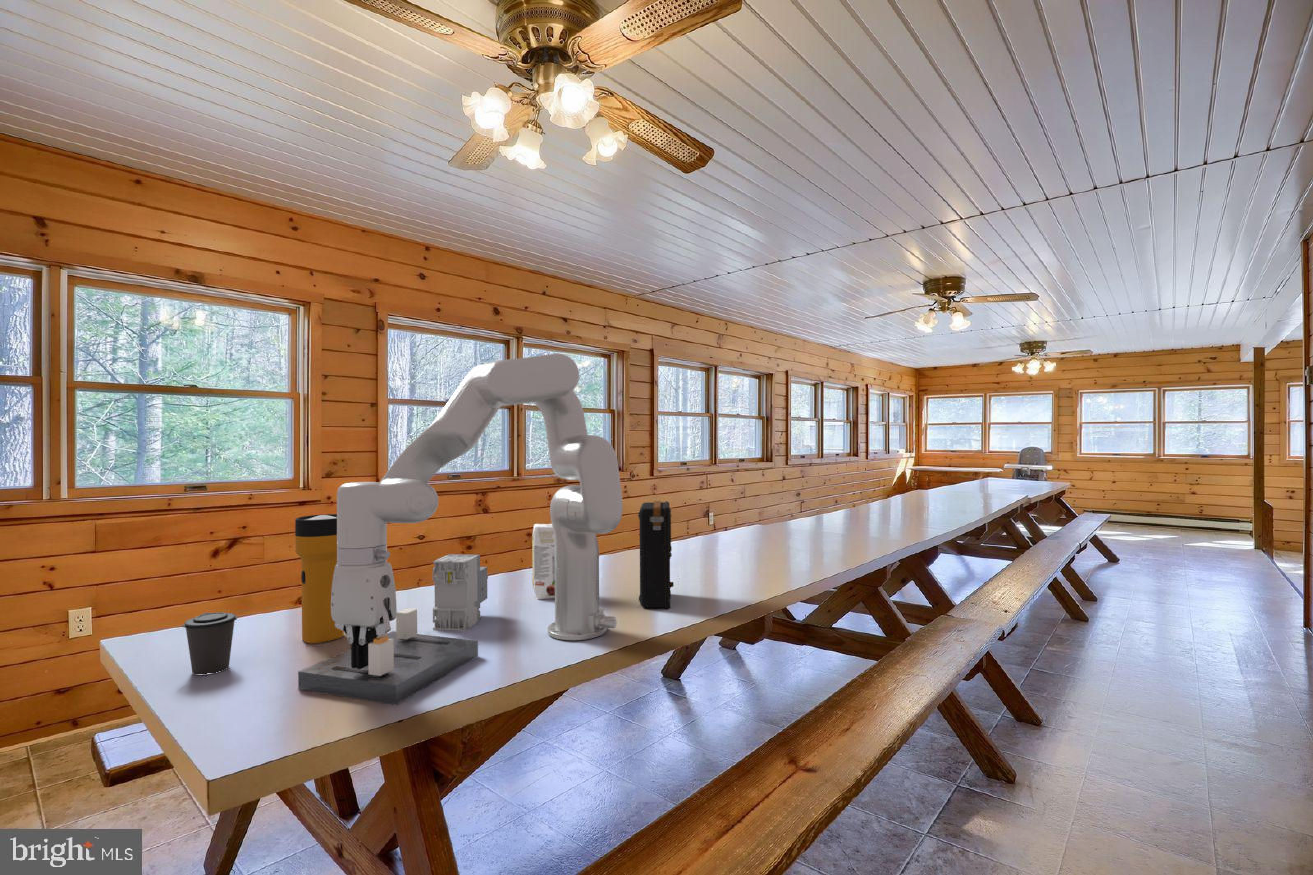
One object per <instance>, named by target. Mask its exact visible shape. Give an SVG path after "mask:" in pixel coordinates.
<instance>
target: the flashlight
mask: <svg viewBox="0 0 1313 875" xmlns="http://www.w3.org/2000/svg"><path fill="white" fill-rule="evenodd" d="M294 524H295V525H294V535H295V536H294V538H295V539H294V540H295V544H294V545H295V548H294V549H295V553H296V555H297V556H298V557H299V558H300V560H301V562H300V564H301V566H300V567H301V573H300V578H301V579H300V581H301V638H302V641H304V642H305V643H307V644H321V643H326V641H327V642H331V641H335V640H338V639H340V638H342V637H343V636H344V634H345V632H344V631H342V630H340V629H338V628H336V627H335V621H333V619H332V616H331V591H332V582H333V575H334V570H335V565H337V513H332V514H331V513H327V514H314V515H313V514H312V515H305V516H300V517H296V518H295V519H294Z"/></svg>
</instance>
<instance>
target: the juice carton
mask: <svg viewBox="0 0 1313 875" xmlns="http://www.w3.org/2000/svg"><path fill="white" fill-rule="evenodd" d="M531 539H532V540H531V542H532V545H531V546H532V548H531V549H532V550H531V551H532V552H531V554H532V556H531V557H532V559H531V561H532V564H531V565H532V568H531V569H532V573H531V574H532V588H533V590H534V594H535V596H536V598H537V600H547V599H555V544H554V533H553V527H552V523H547V524H546V523H535V524H533V529H532V536H531Z"/></svg>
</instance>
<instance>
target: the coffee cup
mask: <svg viewBox="0 0 1313 875" xmlns="http://www.w3.org/2000/svg"><path fill="white" fill-rule="evenodd" d="M237 619H238V616H237V615H236V614H235V613H231V612H223V611H221V612H205V613H202V614H200V615H198V616H195V617H192V618H190V619H187V620H185V621H184V623H183V624H182V627H183V628H184V629H185V631H186V632H185V633H186V637H187V638H186V639H187V644H188V651H189V653H188V654H189V658H190V659H189V660H190V665H191V671H192V674H193V673H194V674H207V673H215V674H217V673H216V672H218V673H220V672H219V671H221V672H223V671H222V670H224V669H226V668H227V669H229V666H230V661H231V652H232V645H233V637H234V627H235V622H236V620H237ZM227 669H226V670H227ZM224 671H225V670H224Z"/></svg>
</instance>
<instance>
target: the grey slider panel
mask: <svg viewBox="0 0 1313 875" xmlns="http://www.w3.org/2000/svg"><path fill="white" fill-rule="evenodd" d="M387 636H388V639H394V669H393V670H391V671H389V672H387V673H385V674H383V675H381V676H377V675H370V674H369V669H368V666H366V667H364V668H362V669H357V668H352V667H351V648H350V649H348V650H345V651H343V652H341V653H339V654H336V655H334V656H331V657H329V658H326V659H324V660H322V661H319V662H318V663H315V664H312V665H310V666H307V667H305V668H303V669H300V670H299V671H298V672H297V674H298V678H297V680H298V681H297V682H298V683H297V684H298V685H297V686H298V687H297V689H298V690H300V689H301V690H300V691H308V692H313V691H315V692H314V693H319V694H327V695H332V696H339V697H344V696H346V697H345V698H351V697H352V699H357V698H358V699H359V700H364V701H370V702H377V703H382V704H390V705H398V704H400V703H401V702H403V701H405V700H406V699H408V698H410V697H411V696H413V695H415V694H416V693H418V692H420V691H422V690H424V689H425V688H427V687H428V686H430V685H432V684H433V683H436V681H439V680H441V679H443V677H446V676H448V675H449V674H450V673H452V672H454V671H456V670H457V669H459V668H461V667H462V666H465V665H466V664H467V663H469V662H471V661H473V660H474V659H477V658H478V657H479V641H478V640H474V639H465V638H456V637H447V636H439V635H431V634H419V633H417V635H415V636H413V637H411V638H409V639H398V638H396V630H395V631H394V630H393V631H389V632H387Z"/></svg>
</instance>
